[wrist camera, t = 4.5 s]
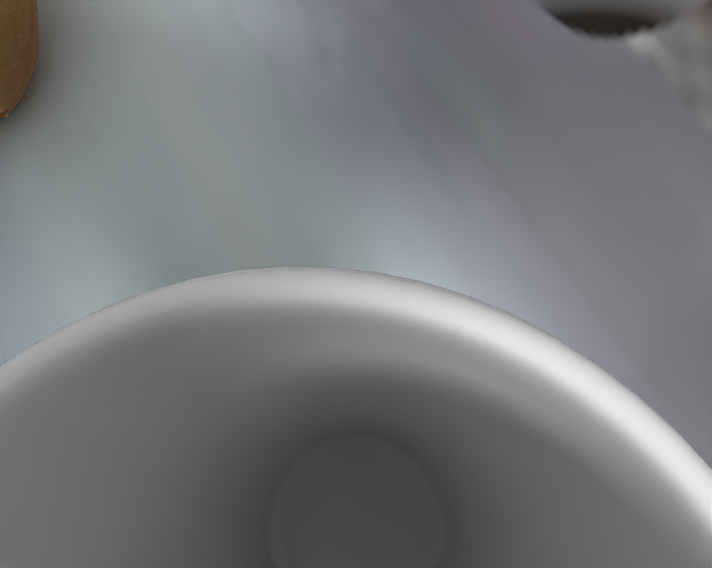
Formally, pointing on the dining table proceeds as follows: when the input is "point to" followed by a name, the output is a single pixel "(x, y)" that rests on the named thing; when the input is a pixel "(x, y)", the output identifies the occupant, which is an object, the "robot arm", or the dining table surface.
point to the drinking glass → (333, 437)
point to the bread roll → (16, 50)
